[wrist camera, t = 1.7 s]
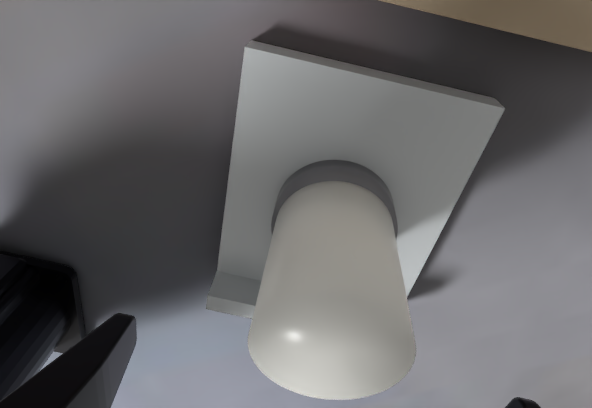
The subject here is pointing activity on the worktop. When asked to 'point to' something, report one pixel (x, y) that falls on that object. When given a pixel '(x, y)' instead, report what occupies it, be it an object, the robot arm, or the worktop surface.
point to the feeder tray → (342, 154)
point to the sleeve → (333, 287)
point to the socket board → (520, 17)
